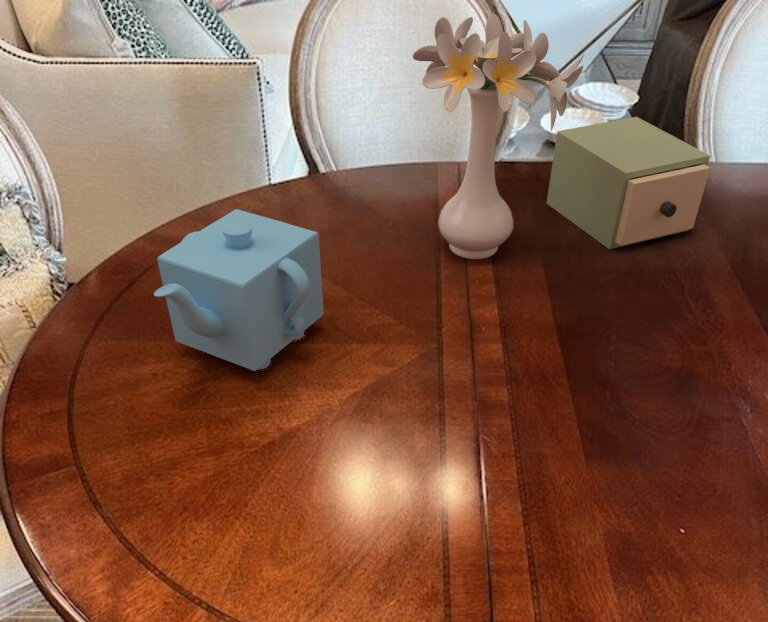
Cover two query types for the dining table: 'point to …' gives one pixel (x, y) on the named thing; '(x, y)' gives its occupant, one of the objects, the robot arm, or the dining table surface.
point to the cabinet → (610, 170)
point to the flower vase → (487, 118)
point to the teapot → (243, 287)
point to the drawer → (661, 204)
